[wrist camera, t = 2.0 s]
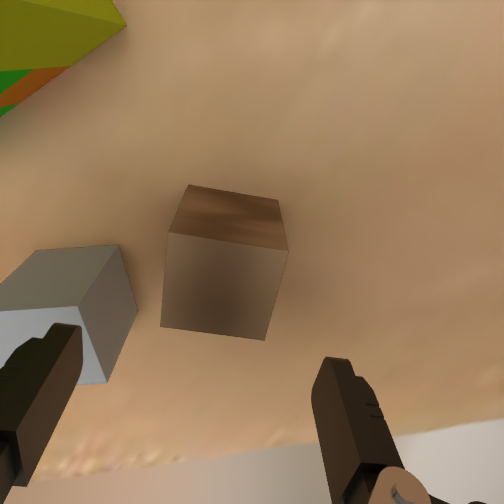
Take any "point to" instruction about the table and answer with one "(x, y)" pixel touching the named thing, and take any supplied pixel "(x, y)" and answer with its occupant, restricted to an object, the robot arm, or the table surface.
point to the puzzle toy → (48, 41)
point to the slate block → (70, 304)
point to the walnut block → (223, 263)
